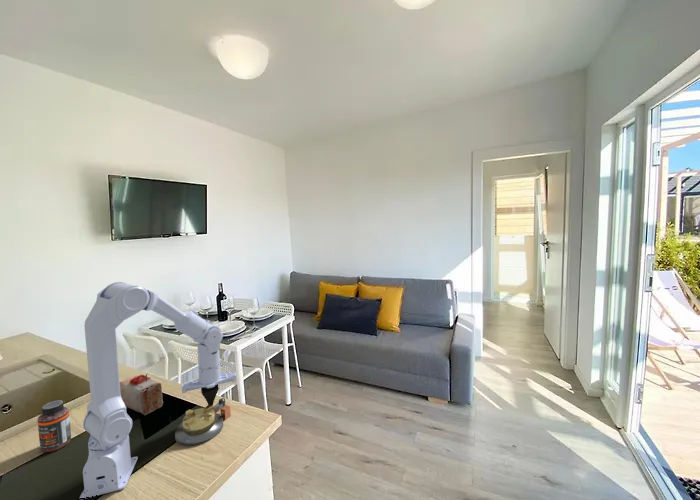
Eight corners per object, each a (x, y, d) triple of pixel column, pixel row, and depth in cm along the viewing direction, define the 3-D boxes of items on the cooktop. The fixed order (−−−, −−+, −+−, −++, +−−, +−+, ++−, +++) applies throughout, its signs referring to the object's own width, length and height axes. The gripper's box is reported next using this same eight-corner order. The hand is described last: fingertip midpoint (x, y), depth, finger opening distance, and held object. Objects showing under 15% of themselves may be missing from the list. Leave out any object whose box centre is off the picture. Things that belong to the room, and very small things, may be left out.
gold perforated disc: (199, 438, 80) (198, 426, 79) (175, 431, 83) (174, 419, 82) (235, 408, 93) (234, 397, 92) (213, 403, 95) (213, 392, 95)
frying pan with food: (195, 451, 77) (194, 440, 77) (165, 437, 82) (164, 427, 82) (238, 418, 90) (237, 408, 90) (209, 408, 95) (209, 399, 95)
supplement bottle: (34, 456, 77) (29, 413, 76) (49, 440, 82) (45, 400, 81) (63, 450, 78) (58, 408, 77) (76, 435, 84) (72, 396, 83)
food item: (116, 407, 97) (113, 377, 96) (142, 394, 104) (140, 366, 103) (142, 418, 91) (139, 386, 90) (168, 404, 98) (166, 374, 97)
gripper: (180, 376, 83) (183, 424, 84) (237, 365, 90) (238, 409, 91) (181, 366, 89) (183, 410, 90) (234, 356, 96) (235, 397, 97)
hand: (211, 409), depth 91 cm, fingers closed, pressing on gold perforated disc
